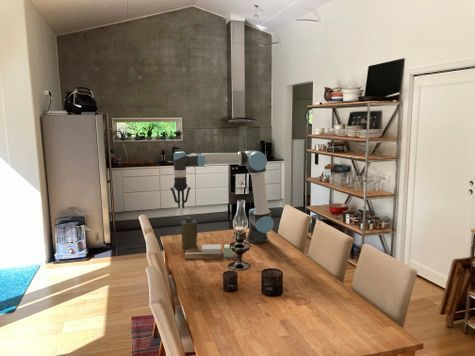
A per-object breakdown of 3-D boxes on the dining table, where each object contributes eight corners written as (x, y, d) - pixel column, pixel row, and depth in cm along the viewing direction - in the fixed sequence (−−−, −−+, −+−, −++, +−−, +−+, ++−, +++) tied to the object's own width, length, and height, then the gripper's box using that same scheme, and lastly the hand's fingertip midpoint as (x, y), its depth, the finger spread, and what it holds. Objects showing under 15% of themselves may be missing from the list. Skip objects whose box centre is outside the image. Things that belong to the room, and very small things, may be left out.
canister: (179, 247, 257) (178, 218, 254) (185, 243, 267) (184, 215, 264) (194, 249, 254) (193, 220, 251) (200, 244, 264) (199, 216, 261)
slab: (202, 249, 245) (202, 244, 244) (221, 248, 245) (221, 244, 244) (201, 253, 236) (201, 249, 235) (221, 253, 236) (221, 248, 235)
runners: (186, 253, 245) (186, 249, 244) (222, 253, 245) (222, 248, 245) (184, 258, 236) (184, 254, 236) (221, 258, 236) (221, 253, 236)
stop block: (224, 253, 244) (224, 244, 243) (233, 253, 244) (233, 244, 243) (224, 256, 238) (224, 247, 237) (233, 256, 238) (233, 247, 237)
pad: (223, 252, 246) (223, 252, 246) (235, 252, 246) (235, 252, 246) (222, 258, 236) (222, 257, 236) (235, 258, 236) (235, 257, 236)
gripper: (168, 177, 235) (170, 214, 239) (190, 177, 235) (191, 214, 239) (170, 175, 243) (172, 212, 246) (191, 175, 243) (192, 211, 246)
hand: (181, 213), depth 242 cm, fingers closed
